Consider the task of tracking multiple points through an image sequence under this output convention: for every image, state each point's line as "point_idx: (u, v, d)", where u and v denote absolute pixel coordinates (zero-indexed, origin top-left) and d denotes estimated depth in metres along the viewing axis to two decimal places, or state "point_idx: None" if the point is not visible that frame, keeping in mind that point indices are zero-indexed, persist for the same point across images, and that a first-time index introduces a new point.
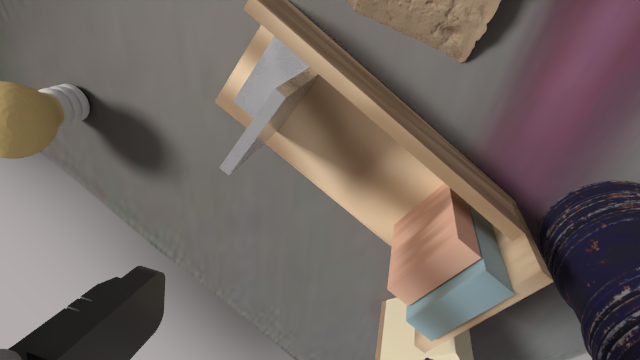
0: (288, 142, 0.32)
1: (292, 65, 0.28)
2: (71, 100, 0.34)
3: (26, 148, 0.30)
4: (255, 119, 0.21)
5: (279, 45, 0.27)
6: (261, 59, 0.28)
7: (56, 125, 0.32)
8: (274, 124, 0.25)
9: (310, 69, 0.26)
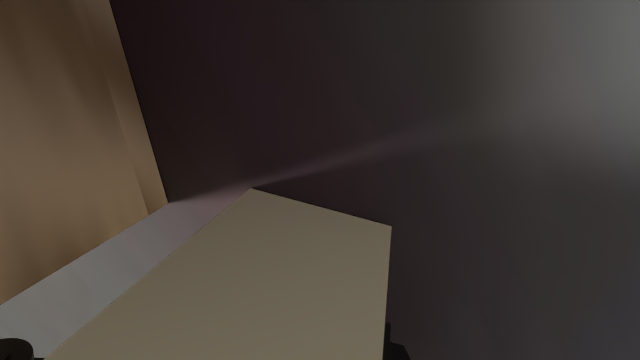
0: None
1: None
2: None
3: None
4: None
5: None
6: None
7: None
8: None
9: None
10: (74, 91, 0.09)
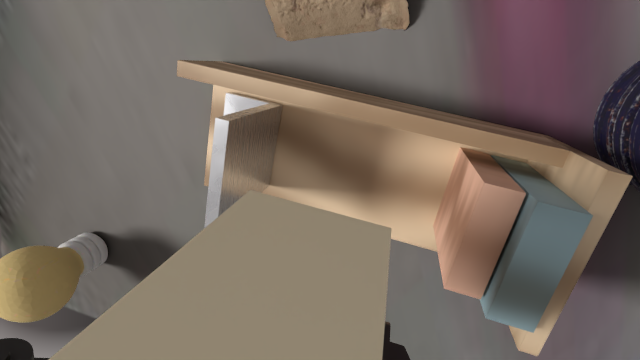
0: (285, 190, 0.30)
1: None
2: (86, 245, 0.35)
3: (48, 302, 0.30)
4: (213, 158, 0.20)
5: (233, 101, 0.28)
6: None
7: (74, 271, 0.32)
8: (249, 167, 0.24)
9: (266, 105, 0.26)
10: None
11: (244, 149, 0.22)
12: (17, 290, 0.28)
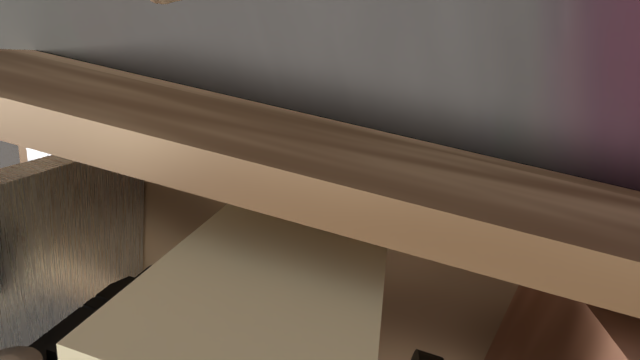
0: None
1: None
2: None
3: None
4: None
5: None
6: None
7: None
8: (11, 315, 0.09)
9: None
10: None
11: None
12: None
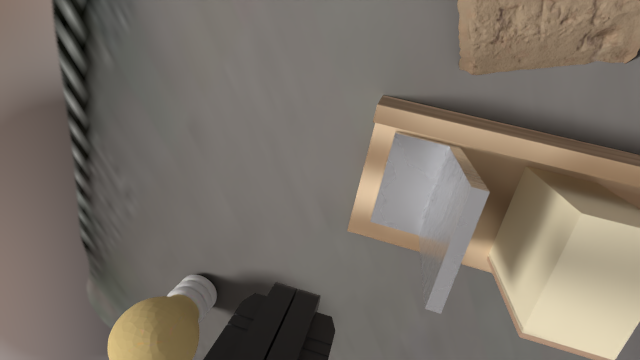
0: None
1: (425, 156, 0.24)
2: (200, 291, 0.32)
3: None
4: (456, 233, 0.17)
5: (403, 142, 0.24)
6: (387, 165, 0.25)
7: (197, 325, 0.29)
8: None
9: (454, 150, 0.22)
10: None
11: None
12: (151, 355, 0.25)
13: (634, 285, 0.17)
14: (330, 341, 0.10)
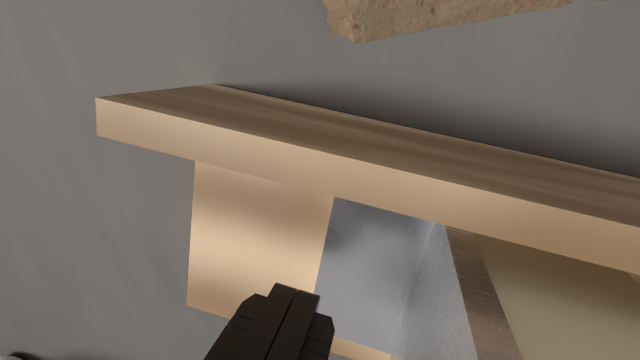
0: None
1: (395, 221, 0.13)
2: None
3: None
4: None
5: None
6: (329, 236, 0.14)
7: None
8: None
9: None
10: None
11: None
12: None
13: None
14: (330, 341, 0.10)
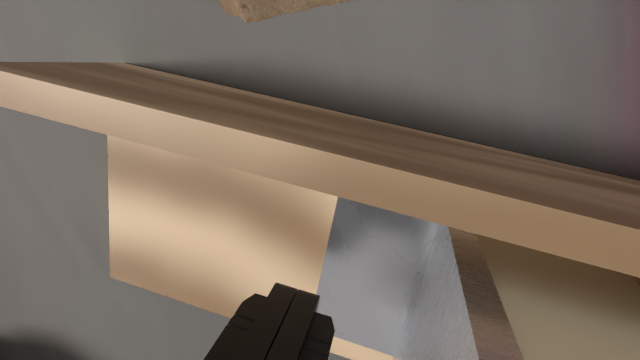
0: (246, 295, 0.16)
1: (399, 223, 0.13)
2: None
3: None
4: None
5: None
6: (332, 237, 0.14)
7: None
8: None
9: None
10: None
11: None
12: None
13: None
14: (330, 341, 0.10)
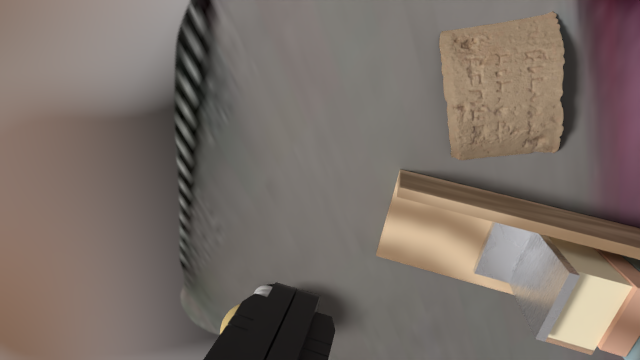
0: (443, 261, 0.40)
1: (517, 233, 0.36)
2: None
3: None
4: (558, 297, 0.29)
5: (502, 224, 0.36)
6: (490, 238, 0.37)
7: None
8: None
9: None
10: None
11: None
12: None
13: (603, 309, 0.30)
14: (330, 341, 0.10)
